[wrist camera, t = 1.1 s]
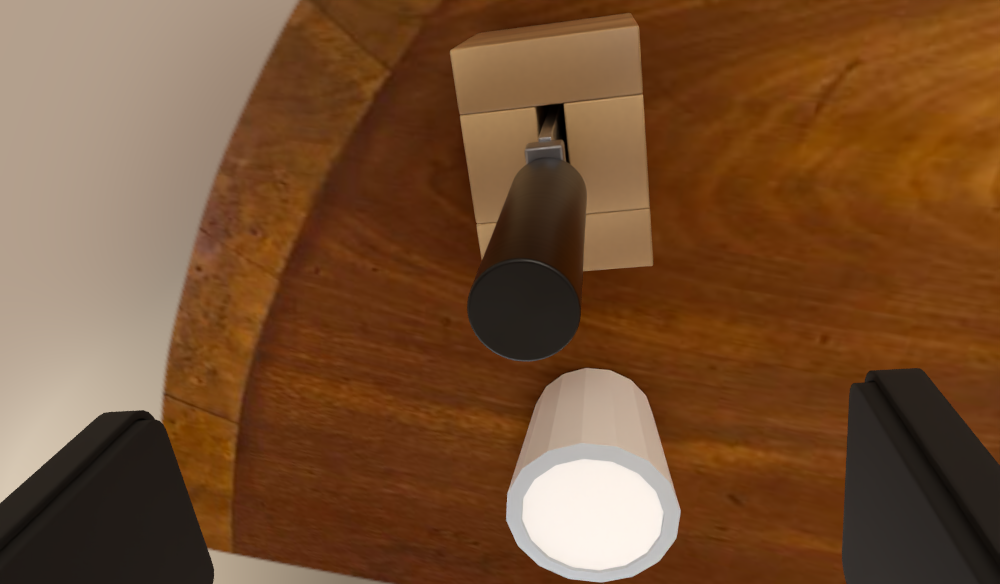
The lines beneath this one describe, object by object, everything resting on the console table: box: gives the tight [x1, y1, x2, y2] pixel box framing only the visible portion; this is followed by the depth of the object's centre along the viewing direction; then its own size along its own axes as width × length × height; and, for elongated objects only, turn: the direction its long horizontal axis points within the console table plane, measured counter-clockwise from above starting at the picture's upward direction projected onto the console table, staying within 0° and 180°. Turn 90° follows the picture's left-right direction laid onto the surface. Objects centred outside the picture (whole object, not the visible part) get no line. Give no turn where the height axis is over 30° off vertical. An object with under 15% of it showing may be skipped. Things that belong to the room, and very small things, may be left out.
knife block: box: [450, 13, 653, 271], centre depth 28 cm, size 8×6×6 cm
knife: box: [467, 103, 587, 361], centre depth 23 cm, size 3×2×18 cm
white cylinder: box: [506, 368, 681, 582], centre depth 33 cm, size 7×7×7 cm
